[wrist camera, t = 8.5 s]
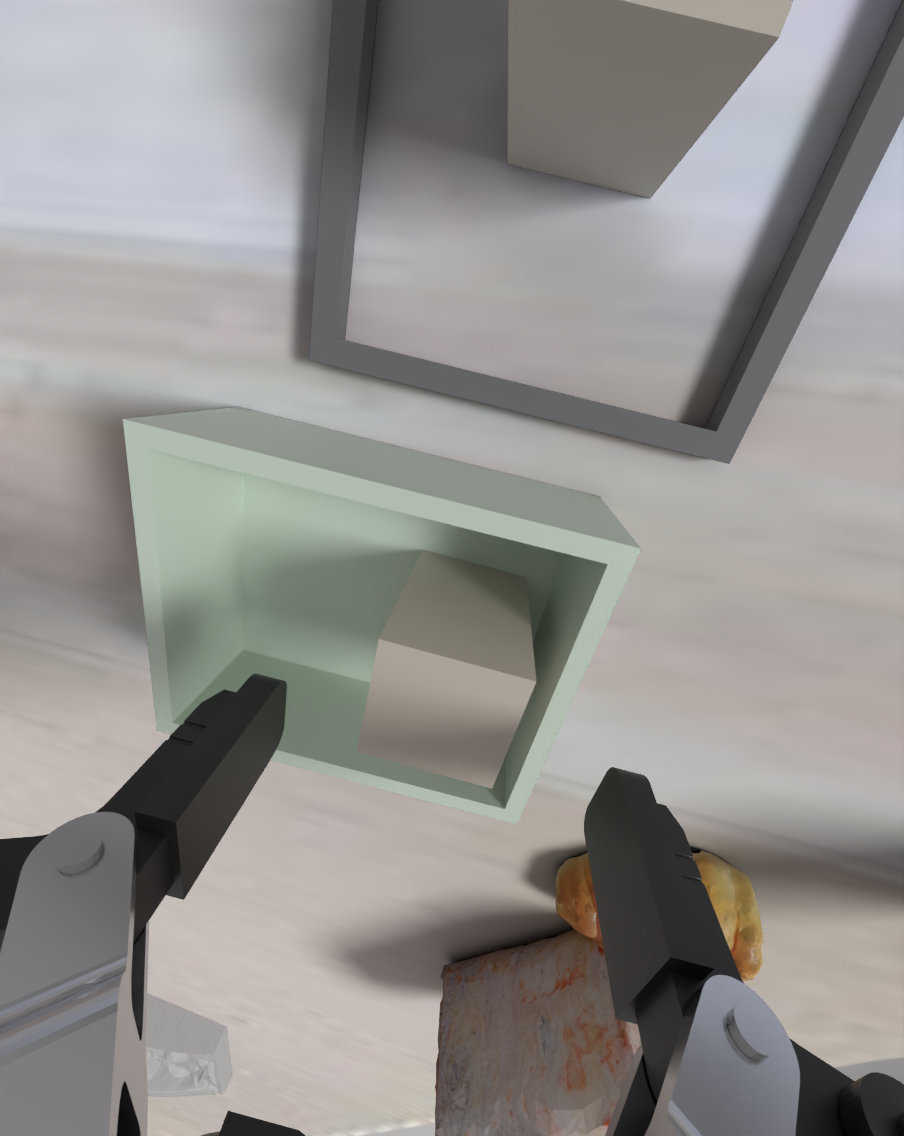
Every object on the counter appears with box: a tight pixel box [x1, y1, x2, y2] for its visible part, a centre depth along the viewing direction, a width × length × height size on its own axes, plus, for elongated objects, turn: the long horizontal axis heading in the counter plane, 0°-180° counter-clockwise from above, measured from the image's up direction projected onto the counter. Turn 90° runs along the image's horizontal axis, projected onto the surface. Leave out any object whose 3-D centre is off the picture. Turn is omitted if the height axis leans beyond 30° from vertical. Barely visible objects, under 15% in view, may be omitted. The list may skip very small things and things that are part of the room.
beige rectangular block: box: [357, 550, 537, 789], centre depth 14 cm, size 4×4×6 cm
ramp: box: [146, 993, 232, 1097], centre depth 37 cm, size 28×16×5 cm, turn 39°
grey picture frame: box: [309, 0, 904, 464], centre depth 10 cm, size 16×14×1 cm
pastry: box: [556, 850, 763, 981], centre depth 21 cm, size 9×7×4 cm
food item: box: [435, 929, 641, 1136], centre depth 23 cm, size 14×8×10 cm, turn 128°
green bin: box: [123, 407, 641, 824], centre depth 15 cm, size 11×13×5 cm
